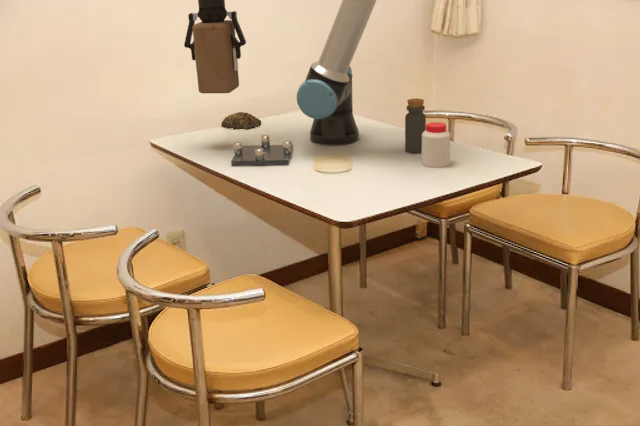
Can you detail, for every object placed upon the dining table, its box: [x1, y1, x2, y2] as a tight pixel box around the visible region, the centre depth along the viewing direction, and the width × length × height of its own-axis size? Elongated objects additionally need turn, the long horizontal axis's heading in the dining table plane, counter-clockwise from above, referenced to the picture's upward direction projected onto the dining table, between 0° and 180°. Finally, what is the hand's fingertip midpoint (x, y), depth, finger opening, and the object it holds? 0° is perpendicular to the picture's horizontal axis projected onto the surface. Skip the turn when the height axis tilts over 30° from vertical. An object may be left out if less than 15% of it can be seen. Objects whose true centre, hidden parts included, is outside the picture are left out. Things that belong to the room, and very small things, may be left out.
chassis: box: [230, 134, 294, 167], centre depth 225 cm, size 17×17×4 cm
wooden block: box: [192, 19, 240, 94], centre depth 229 cm, size 10×10×20 cm
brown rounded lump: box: [221, 111, 262, 130], centre depth 263 cm, size 13×12×5 cm
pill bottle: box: [420, 121, 451, 169], centre depth 213 cm, size 8×8×11 cm
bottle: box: [404, 98, 427, 155], centre depth 224 cm, size 6×6×15 cm
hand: (217, 70), depth 231 cm, fingers closed on wooden block, 10 cm apart
